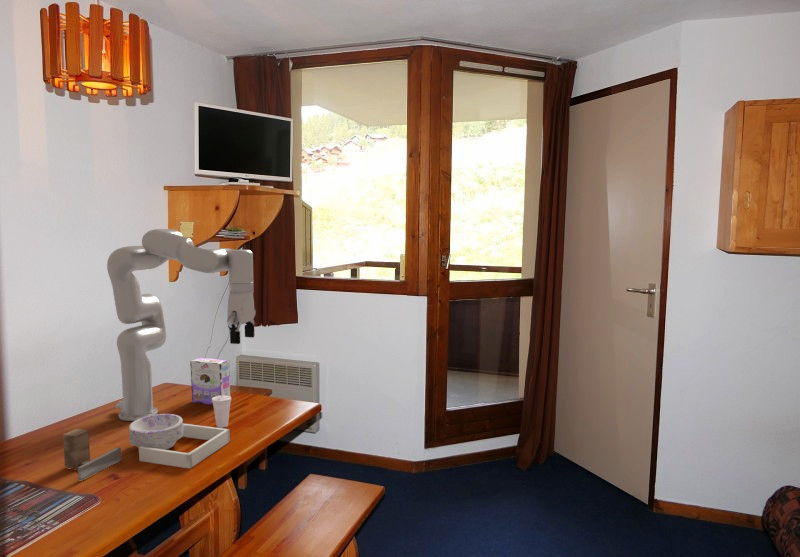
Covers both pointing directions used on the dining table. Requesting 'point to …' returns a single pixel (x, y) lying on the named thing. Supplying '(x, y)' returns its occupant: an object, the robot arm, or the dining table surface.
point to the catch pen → (188, 460)
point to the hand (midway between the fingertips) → (242, 340)
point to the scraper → (85, 454)
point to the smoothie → (221, 409)
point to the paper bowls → (156, 431)
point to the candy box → (209, 379)
